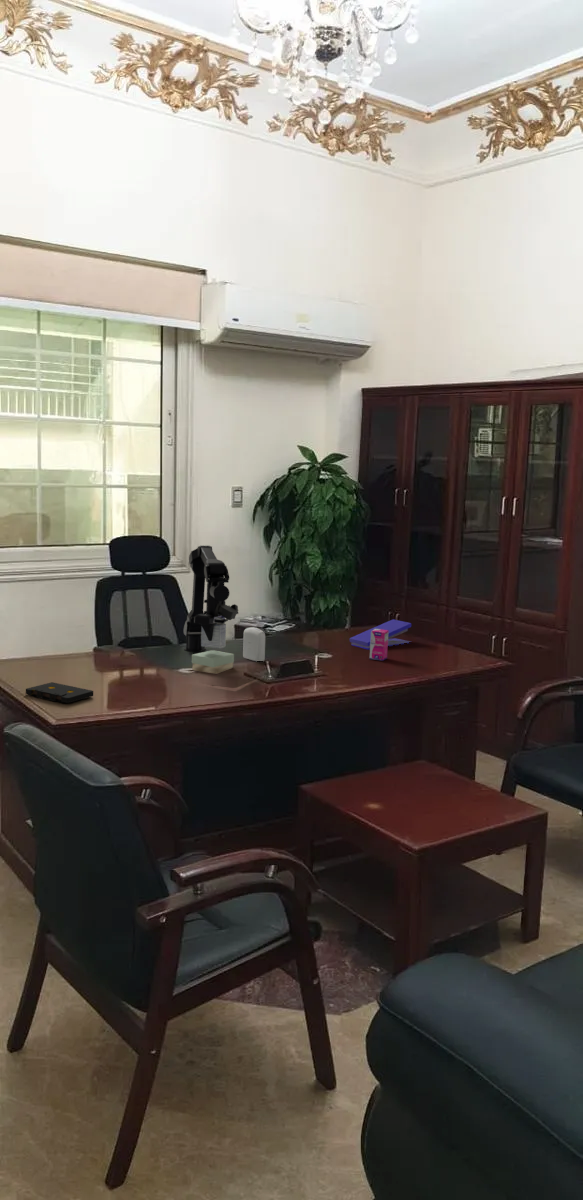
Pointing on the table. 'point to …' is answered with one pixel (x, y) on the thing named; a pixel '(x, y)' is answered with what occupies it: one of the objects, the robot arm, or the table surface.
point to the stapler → (392, 625)
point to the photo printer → (254, 644)
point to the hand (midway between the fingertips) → (213, 639)
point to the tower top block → (212, 658)
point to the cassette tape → (59, 692)
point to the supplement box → (379, 644)
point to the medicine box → (215, 637)
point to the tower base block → (212, 668)
